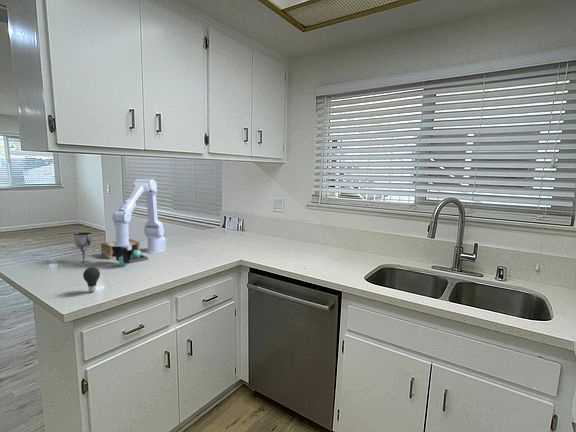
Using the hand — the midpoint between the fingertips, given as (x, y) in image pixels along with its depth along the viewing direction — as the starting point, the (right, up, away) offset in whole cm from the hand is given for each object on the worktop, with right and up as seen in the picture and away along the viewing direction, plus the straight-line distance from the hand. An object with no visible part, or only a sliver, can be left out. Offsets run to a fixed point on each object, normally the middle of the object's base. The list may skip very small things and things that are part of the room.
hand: (122, 261), depth 158 cm
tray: (0, -1, +10) cm, 10 cm away
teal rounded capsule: (0, -2, 0) cm, 2 cm away
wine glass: (-21, -1, +2) cm, 21 cm away
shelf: (-10, +1, +18) cm, 21 cm away
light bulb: (+5, -7, -33) cm, 35 cm away
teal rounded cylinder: (+1, 0, +12) cm, 12 cm away
